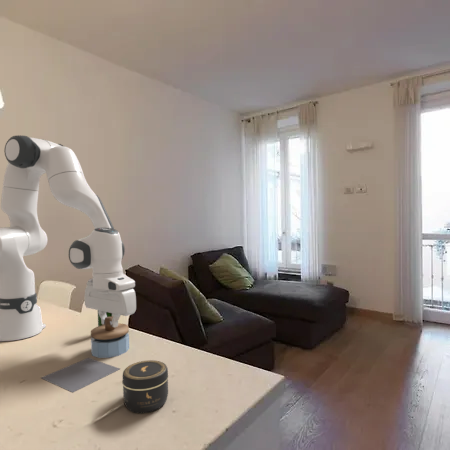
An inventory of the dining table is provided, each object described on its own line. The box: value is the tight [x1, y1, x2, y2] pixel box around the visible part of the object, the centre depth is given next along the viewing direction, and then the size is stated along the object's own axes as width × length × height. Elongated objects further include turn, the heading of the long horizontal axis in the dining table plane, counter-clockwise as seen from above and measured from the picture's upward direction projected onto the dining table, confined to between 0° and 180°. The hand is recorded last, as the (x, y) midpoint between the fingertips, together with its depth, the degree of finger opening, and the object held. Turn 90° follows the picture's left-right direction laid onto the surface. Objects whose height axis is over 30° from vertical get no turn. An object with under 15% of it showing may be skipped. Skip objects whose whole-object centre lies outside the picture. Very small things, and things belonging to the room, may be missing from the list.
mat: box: [40, 357, 121, 393], centre depth 89 cm, size 14×14×1 cm
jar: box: [122, 359, 169, 414], centre depth 76 cm, size 10×10×8 cm
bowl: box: [90, 332, 130, 359], centre depth 104 cm, size 11×11×5 cm
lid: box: [90, 317, 130, 340], centre depth 104 cm, size 11×11×5 cm
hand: (109, 325), depth 104 cm, fingers closed on lid, 3 cm apart
